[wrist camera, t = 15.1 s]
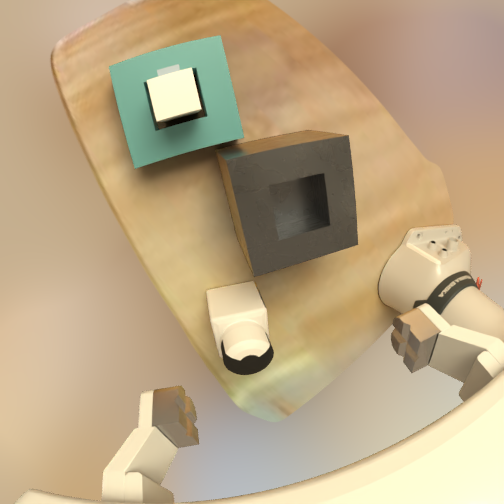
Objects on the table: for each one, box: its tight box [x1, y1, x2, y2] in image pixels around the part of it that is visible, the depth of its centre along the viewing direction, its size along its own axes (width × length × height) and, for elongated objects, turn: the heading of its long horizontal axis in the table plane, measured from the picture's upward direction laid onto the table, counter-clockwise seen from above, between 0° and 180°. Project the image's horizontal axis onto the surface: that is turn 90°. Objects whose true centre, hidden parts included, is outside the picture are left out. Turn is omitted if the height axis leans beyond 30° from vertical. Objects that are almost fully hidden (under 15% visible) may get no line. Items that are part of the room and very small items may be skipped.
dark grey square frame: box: [215, 130, 358, 277], centre depth 32 cm, size 12×12×10 cm
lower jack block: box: [109, 36, 244, 169], centre depth 28 cm, size 12×12×4 cm
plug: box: [147, 64, 201, 122], centre depth 25 cm, size 4×5×9 cm
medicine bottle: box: [206, 281, 274, 375], centre depth 38 cm, size 7×7×12 cm
